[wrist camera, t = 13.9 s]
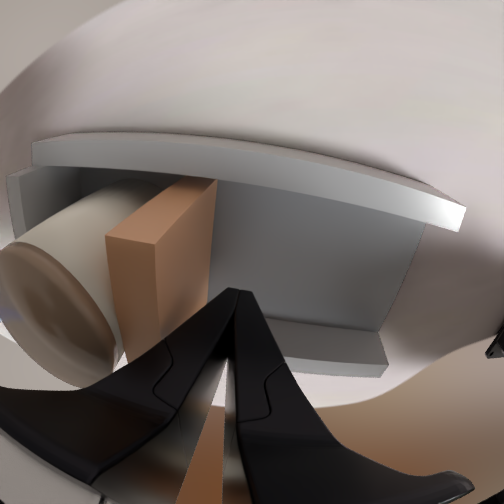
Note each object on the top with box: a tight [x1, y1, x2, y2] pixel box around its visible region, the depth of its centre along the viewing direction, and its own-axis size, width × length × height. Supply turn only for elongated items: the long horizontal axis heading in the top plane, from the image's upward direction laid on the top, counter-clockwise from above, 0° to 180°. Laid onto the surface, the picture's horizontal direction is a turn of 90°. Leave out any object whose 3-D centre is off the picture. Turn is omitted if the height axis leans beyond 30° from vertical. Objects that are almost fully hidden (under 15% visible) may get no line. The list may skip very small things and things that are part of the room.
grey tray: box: [6, 132, 466, 378], centre depth 10 cm, size 17×9×5 cm, turn 82°
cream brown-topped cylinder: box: [0, 178, 162, 388], centre depth 9 cm, size 5×5×7 cm
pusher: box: [105, 175, 218, 364], centre depth 9 cm, size 1×6×6 cm, turn 172°
